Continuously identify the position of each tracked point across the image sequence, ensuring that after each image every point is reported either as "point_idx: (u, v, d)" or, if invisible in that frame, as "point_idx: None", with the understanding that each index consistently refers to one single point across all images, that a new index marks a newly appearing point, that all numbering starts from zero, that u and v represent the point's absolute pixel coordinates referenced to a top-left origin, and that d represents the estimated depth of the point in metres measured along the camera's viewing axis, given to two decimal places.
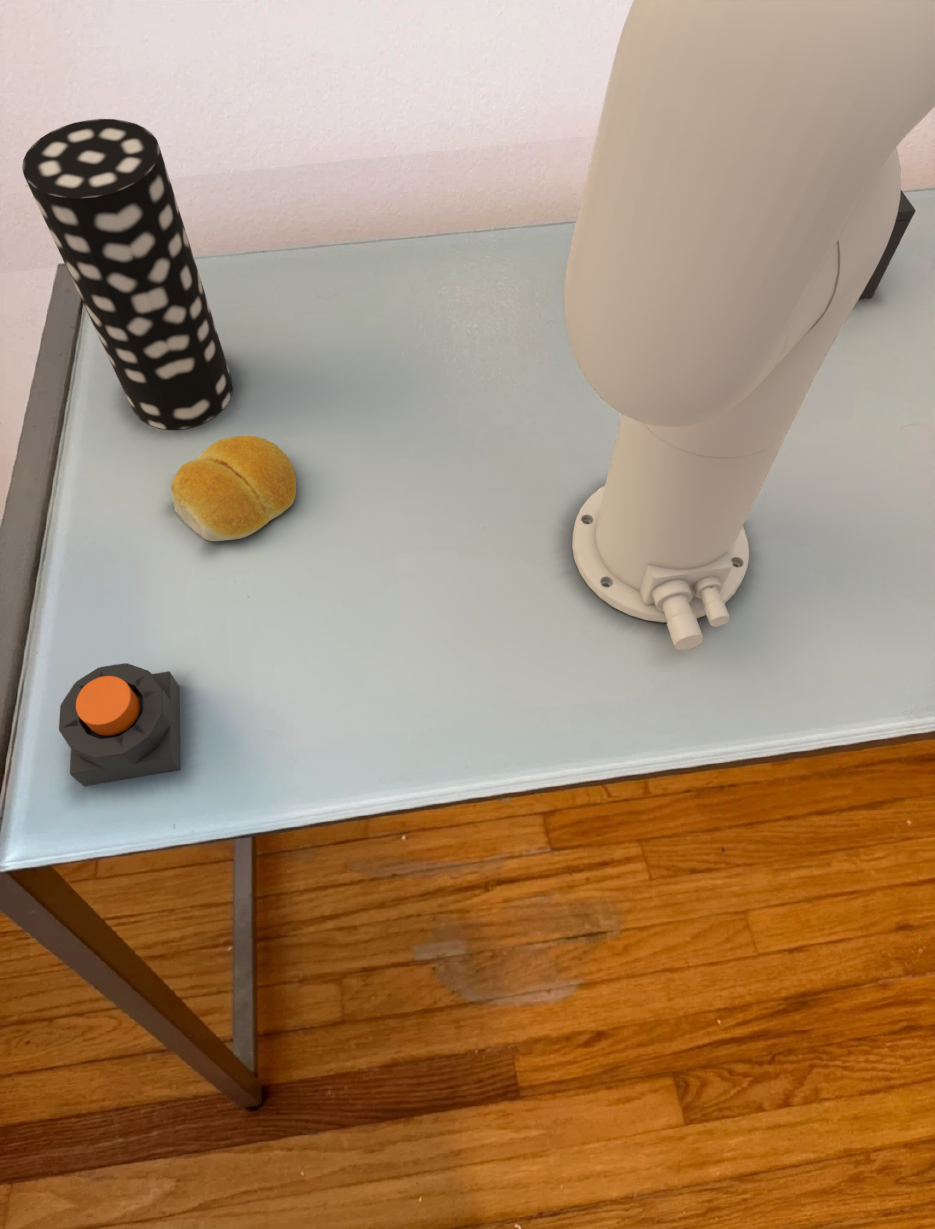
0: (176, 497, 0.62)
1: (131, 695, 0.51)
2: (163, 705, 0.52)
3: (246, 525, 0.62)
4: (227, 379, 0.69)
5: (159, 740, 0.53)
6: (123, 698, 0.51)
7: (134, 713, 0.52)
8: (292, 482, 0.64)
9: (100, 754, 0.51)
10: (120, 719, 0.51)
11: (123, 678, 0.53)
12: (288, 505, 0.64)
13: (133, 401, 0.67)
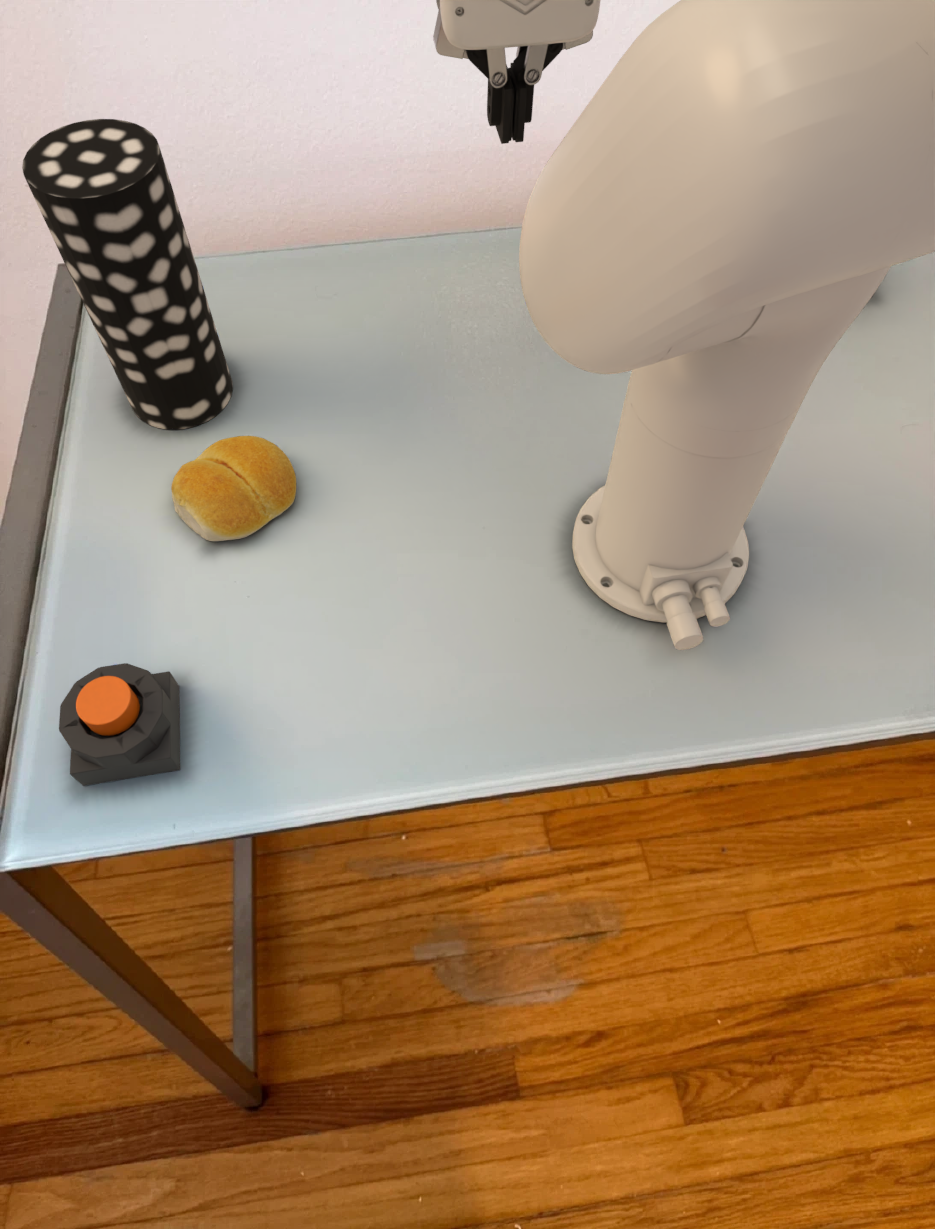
0: (176, 497, 0.62)
1: (131, 695, 0.51)
2: (163, 705, 0.52)
3: (246, 525, 0.62)
4: (227, 379, 0.69)
5: (159, 740, 0.53)
6: (123, 698, 0.51)
7: (134, 713, 0.52)
8: (292, 482, 0.64)
9: (100, 754, 0.51)
10: (120, 719, 0.51)
11: (123, 678, 0.53)
12: (288, 505, 0.64)
13: (133, 401, 0.67)
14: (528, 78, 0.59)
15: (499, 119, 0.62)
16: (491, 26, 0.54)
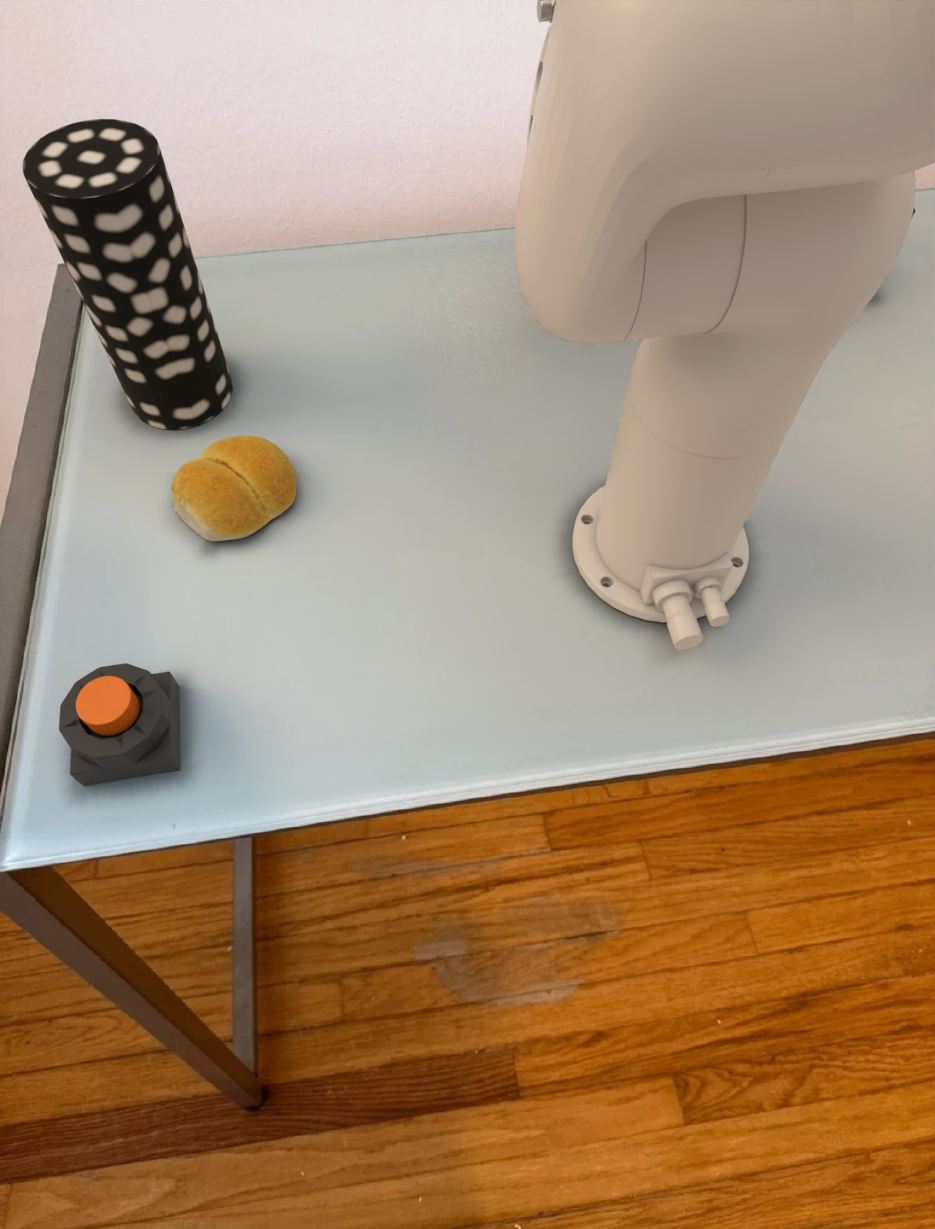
0: (176, 497, 0.62)
1: (131, 695, 0.51)
2: (163, 705, 0.52)
3: (246, 525, 0.62)
4: (227, 379, 0.69)
5: (159, 740, 0.53)
6: (123, 698, 0.51)
7: (134, 713, 0.52)
8: (292, 482, 0.64)
9: (100, 754, 0.51)
10: (120, 719, 0.51)
11: (123, 678, 0.53)
12: (288, 505, 0.64)
13: (133, 401, 0.67)
14: None
15: None
16: None
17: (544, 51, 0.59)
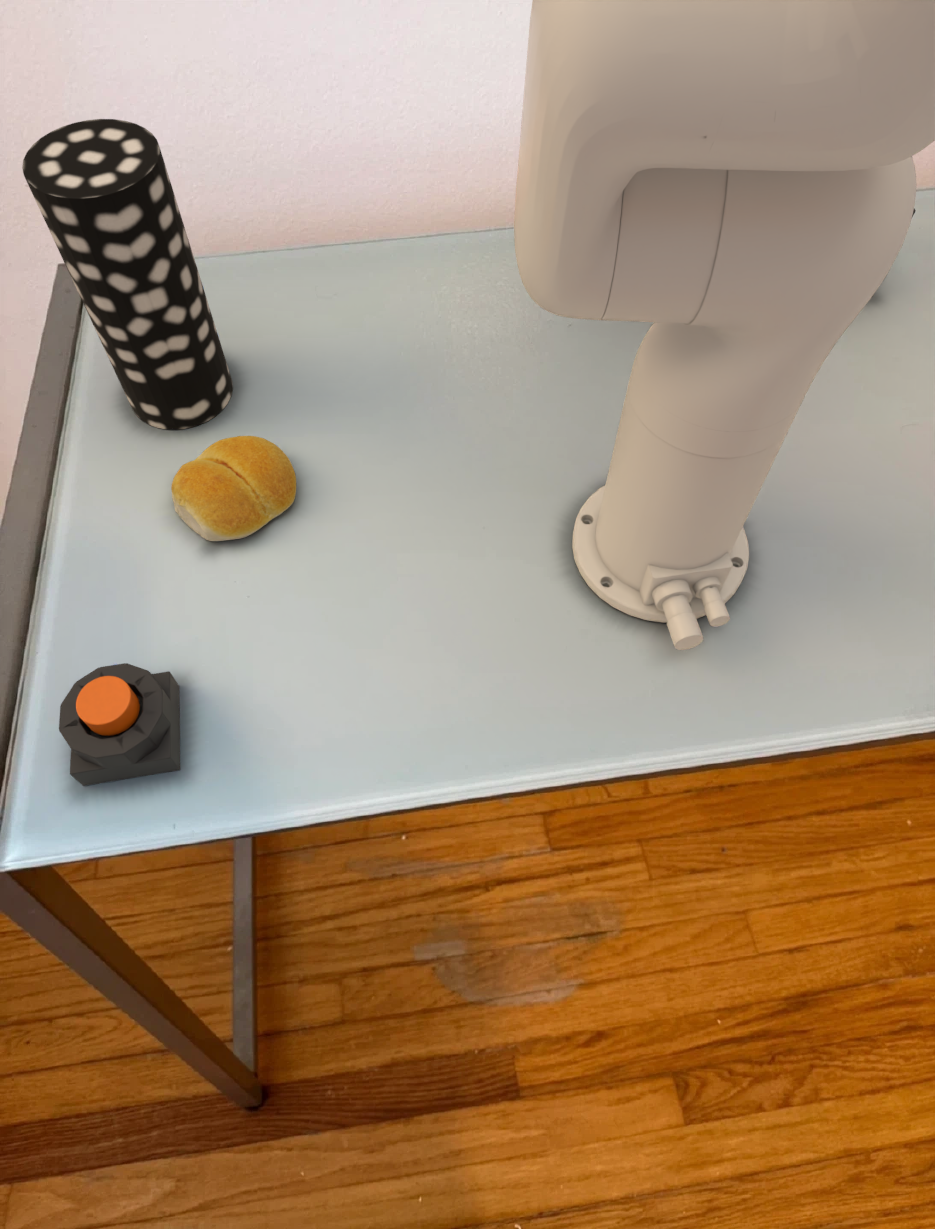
0: (176, 497, 0.62)
1: (131, 695, 0.51)
2: (163, 705, 0.52)
3: (246, 525, 0.62)
4: (227, 379, 0.69)
5: (159, 740, 0.53)
6: (123, 698, 0.51)
7: (134, 713, 0.52)
8: (292, 482, 0.64)
9: (100, 754, 0.51)
10: (120, 719, 0.51)
11: (123, 678, 0.53)
12: (288, 505, 0.64)
13: (133, 401, 0.67)
14: None
15: None
16: None
17: None
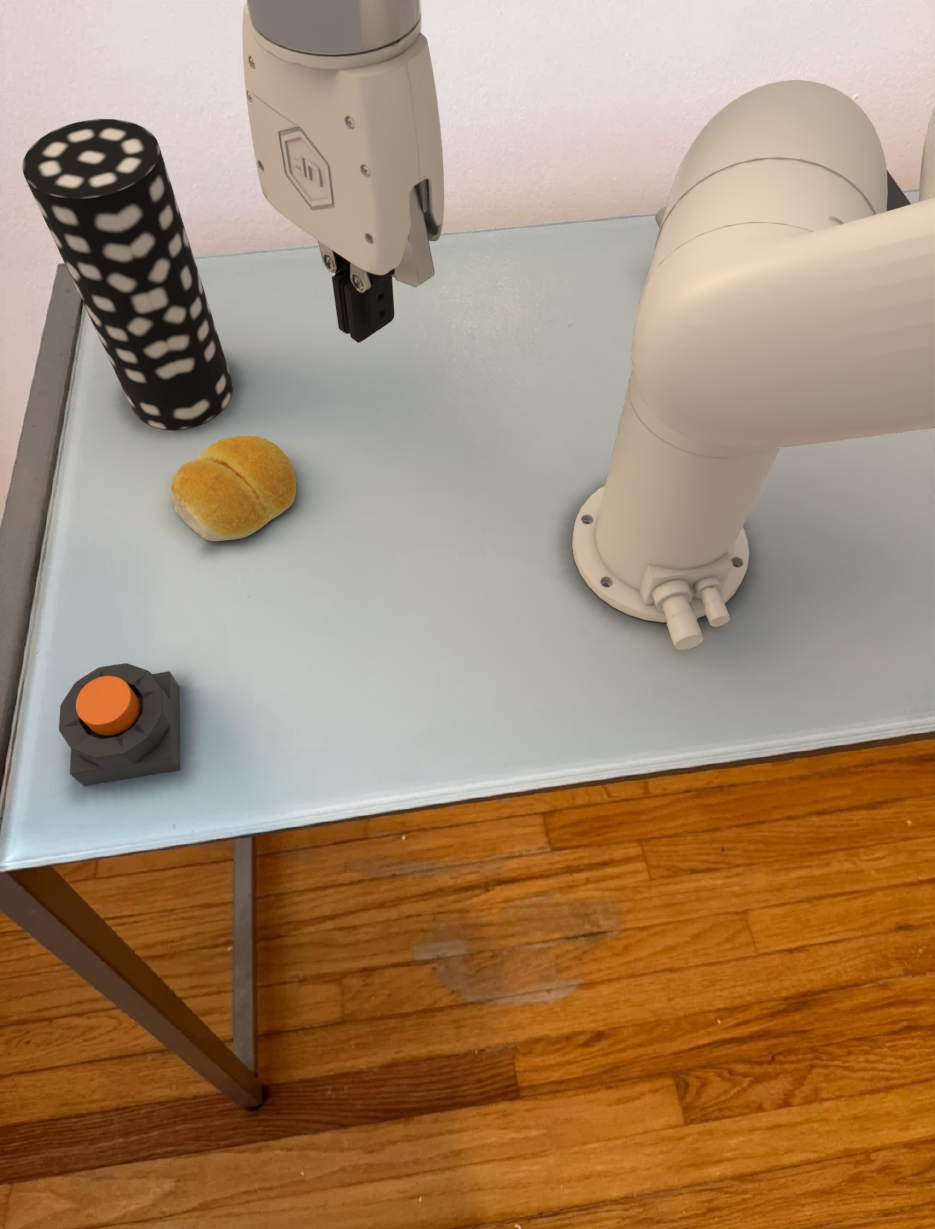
0: (176, 497, 0.62)
1: (131, 695, 0.51)
2: (163, 705, 0.52)
3: (246, 525, 0.62)
4: (227, 379, 0.69)
5: (159, 740, 0.53)
6: (123, 698, 0.51)
7: (134, 713, 0.52)
8: (292, 482, 0.64)
9: (100, 754, 0.51)
10: (120, 719, 0.51)
11: (123, 678, 0.53)
12: (288, 505, 0.64)
13: (133, 401, 0.67)
14: (356, 282, 0.48)
15: None
16: (287, 200, 0.45)
17: None
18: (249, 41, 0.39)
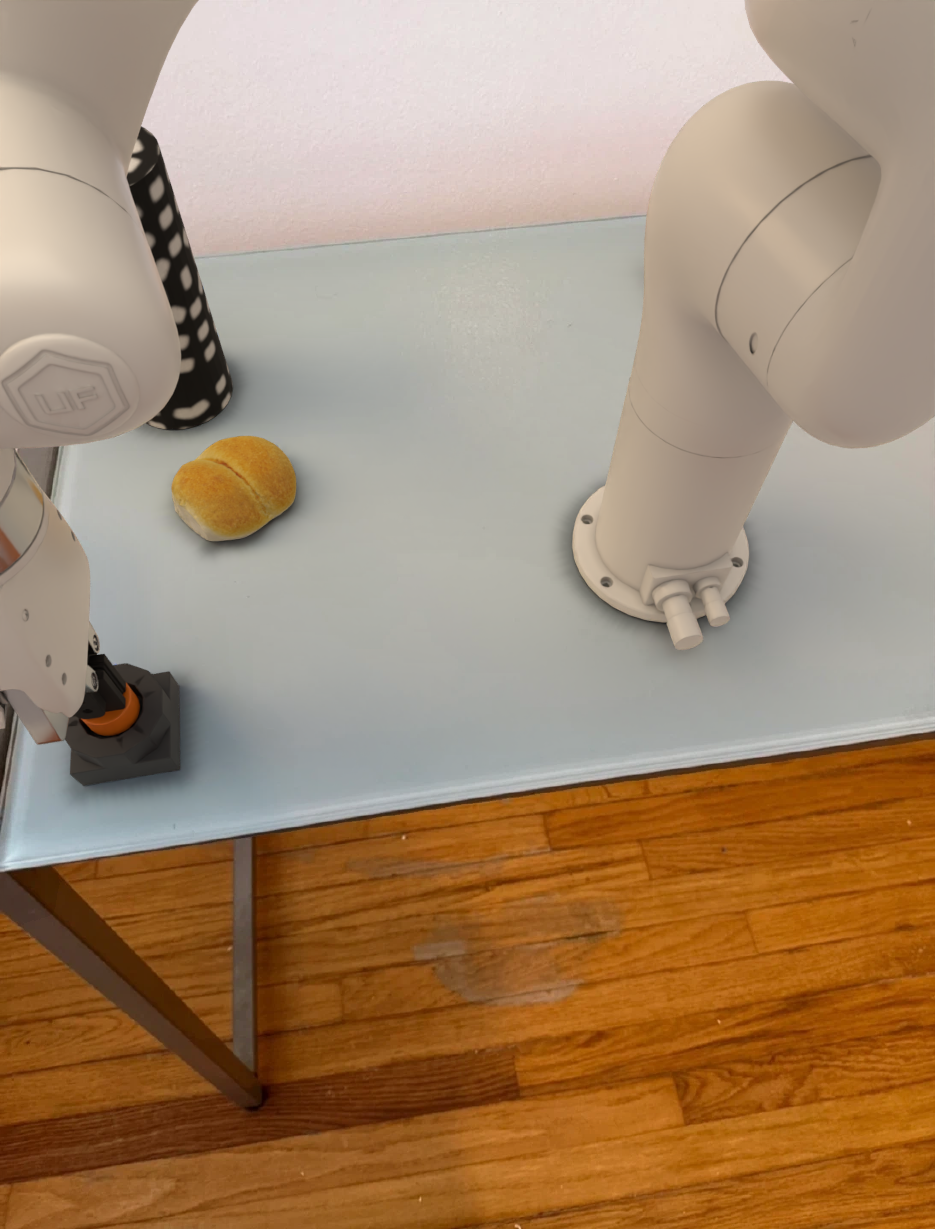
0: (176, 497, 0.62)
1: (131, 695, 0.51)
2: (163, 705, 0.52)
3: (246, 525, 0.62)
4: (227, 379, 0.69)
5: (159, 740, 0.53)
6: None
7: (134, 713, 0.52)
8: (292, 482, 0.64)
9: (100, 754, 0.51)
10: (120, 719, 0.51)
11: (123, 678, 0.53)
12: (288, 505, 0.64)
13: None
14: None
15: None
16: None
17: None
18: None
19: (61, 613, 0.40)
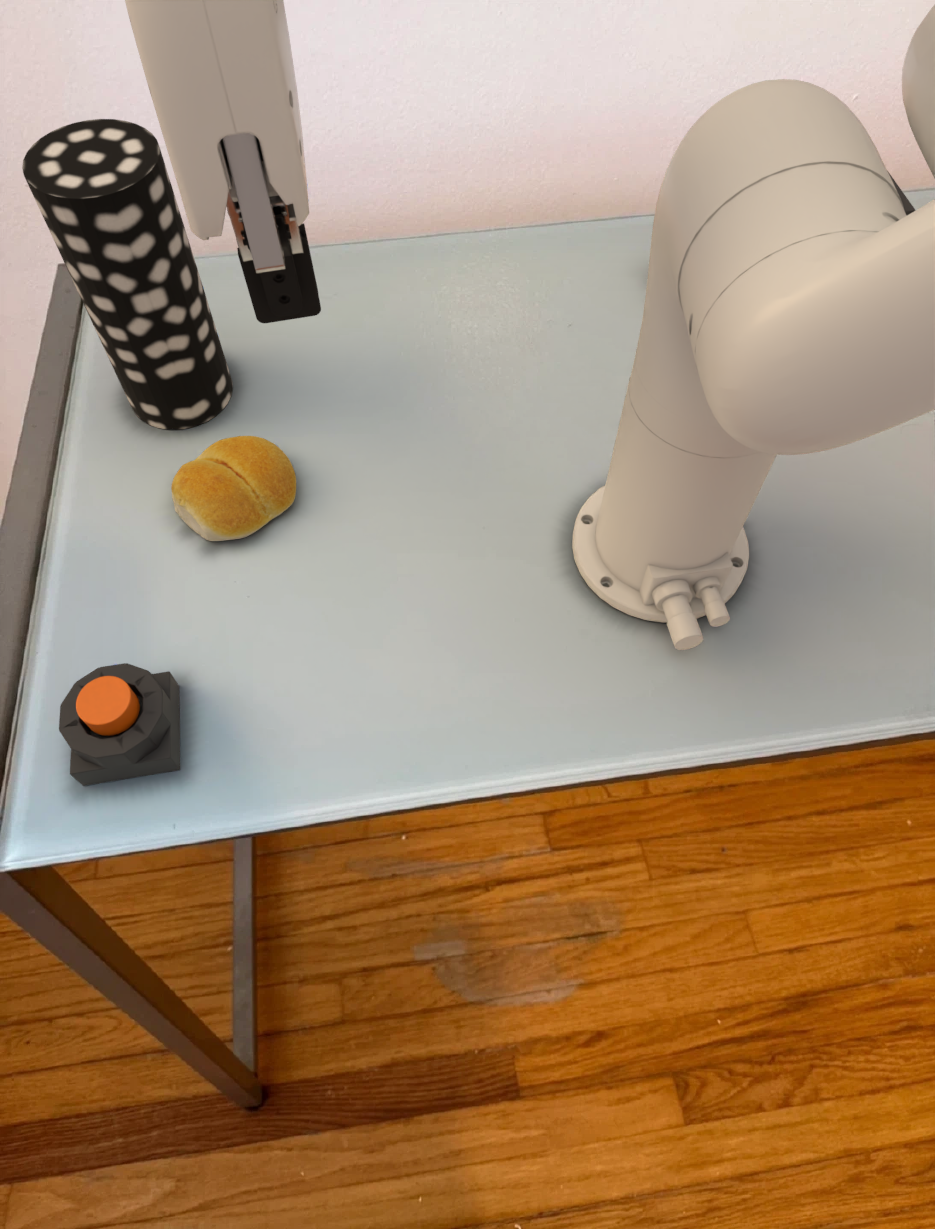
0: (176, 497, 0.62)
1: (131, 695, 0.51)
2: (163, 705, 0.52)
3: (246, 525, 0.62)
4: (227, 379, 0.69)
5: (159, 740, 0.53)
6: (123, 698, 0.51)
7: (134, 713, 0.52)
8: (292, 482, 0.64)
9: (100, 754, 0.51)
10: (120, 719, 0.51)
11: (123, 678, 0.53)
12: (288, 505, 0.64)
13: (133, 401, 0.67)
14: None
15: None
16: None
17: None
18: None
19: (293, 68, 0.32)
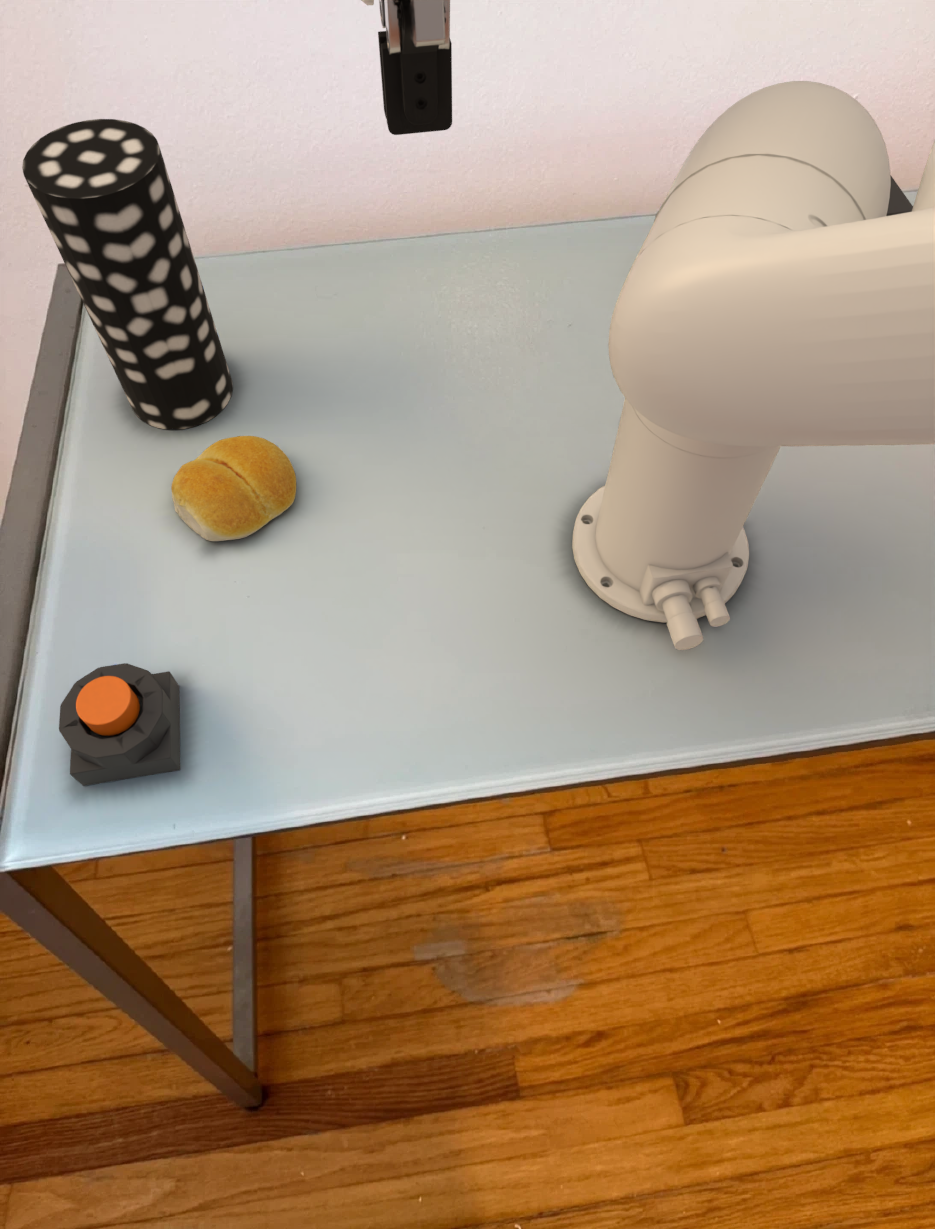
0: (176, 497, 0.62)
1: (131, 695, 0.51)
2: (163, 705, 0.52)
3: (246, 525, 0.62)
4: (227, 379, 0.69)
5: (159, 740, 0.53)
6: (123, 698, 0.51)
7: (134, 713, 0.52)
8: (292, 482, 0.64)
9: (100, 754, 0.51)
10: (120, 719, 0.51)
11: (123, 678, 0.53)
12: (288, 505, 0.64)
13: (133, 401, 0.67)
14: None
15: None
16: None
17: None
18: None
19: None
